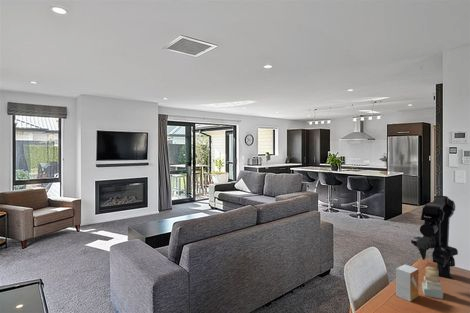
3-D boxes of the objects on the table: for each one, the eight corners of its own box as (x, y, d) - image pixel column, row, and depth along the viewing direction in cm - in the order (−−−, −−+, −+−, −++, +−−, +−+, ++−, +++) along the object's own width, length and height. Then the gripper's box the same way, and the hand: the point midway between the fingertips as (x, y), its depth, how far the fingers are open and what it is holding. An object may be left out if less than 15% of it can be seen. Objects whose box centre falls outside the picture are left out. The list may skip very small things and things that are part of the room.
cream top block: (423, 283, 131) (423, 276, 131) (437, 285, 129) (437, 277, 129) (427, 288, 126) (427, 281, 126) (441, 290, 124) (441, 283, 124)
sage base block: (421, 289, 133) (421, 282, 132) (439, 292, 129) (439, 285, 129) (424, 296, 126) (424, 288, 126) (442, 299, 123) (442, 292, 123)
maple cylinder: (424, 276, 131) (424, 266, 131) (437, 278, 129) (437, 267, 129) (426, 280, 126) (426, 270, 126) (439, 282, 124) (439, 272, 124)
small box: (410, 302, 121) (410, 273, 121) (395, 295, 127) (395, 268, 126) (419, 296, 126) (418, 268, 125) (404, 290, 131) (404, 263, 131)
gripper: (402, 228, 137) (403, 258, 138) (441, 240, 120) (441, 274, 120) (418, 225, 141) (419, 255, 142) (458, 236, 123) (458, 270, 124)
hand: (433, 263), depth 132 cm, fingers open, 9 cm apart
